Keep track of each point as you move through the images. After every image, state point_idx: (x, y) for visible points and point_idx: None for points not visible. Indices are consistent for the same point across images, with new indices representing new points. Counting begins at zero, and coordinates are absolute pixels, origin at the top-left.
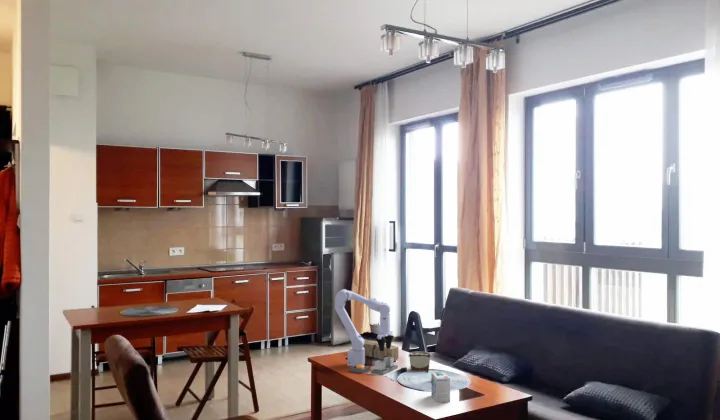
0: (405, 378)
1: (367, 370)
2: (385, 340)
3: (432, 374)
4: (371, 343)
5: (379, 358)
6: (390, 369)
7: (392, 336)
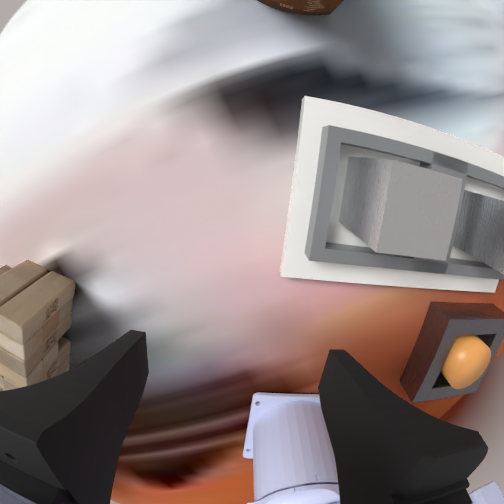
0: (480, 41)
1: (469, 311)
2: (424, 443)
3: None
4: None
5: None
6: (450, 157)
7: (35, 440)
